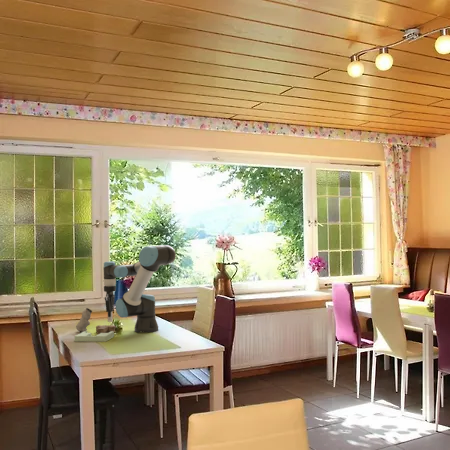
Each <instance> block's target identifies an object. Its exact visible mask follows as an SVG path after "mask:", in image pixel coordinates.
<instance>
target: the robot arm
mask: <svg viewBox="0 0 450 450" xmlns="http://www.w3.org/2000/svg"><path fill="white" fill-rule="evenodd" d="M176 257H177V253H176V250H175V249H174V248H173V246H170V245H168V244H165V245H164V244H162V245H147V246H144V247H143V248H142V249H141V250H140V252H139V254H138V261H137V262H135V263H133V264H119V265H118V264H117V265H116V262H115V261H104V262H103V281H102V282H103V292H105V293H106V295H105V297H104V302H105V310H106V313H107V322H108V323H112V322H113V312H114V311H116V313H117V315H118V317H120V318H130V317H136V322H135V325H134V332H136V333H152V332H153V333H154V332H158V331H159V324H158V322H157V319H156V298H155V295H153V294H147V293H146V294H144V292H145V290H146V288H147V286H148V284H149V283H150V281H151V278H152V277H153V274H154V273H155V272H157V271H158V270H159V269H160V266H168V265H170V264H171V265H172V263H174V261H175V260H176ZM126 277H134V279H133V281H132V283H131V284H130V287H129V289H128V291H127V292H125V293H124V294H123V296H122V298H118V299H117V300H116V301H115V298H116V297H115V296H116V295H115V294H114V292H116V291H117V289H116V287H117V286H116V285H117V284H116V283H117V282H116V278H119V279H121V278H126ZM114 307H115V310H114Z"/></svg>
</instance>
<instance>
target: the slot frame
mask: <svg viewBox="0 0 450 450" xmlns="http://www.w3.org/2000/svg"><path fill="white" fill-rule="evenodd" d="M113 338H115V333H114V331H111V332H109V333H100V334H98V333H97V335H92V332H88V331H84V332H80V333H78V334H76V335H74V342H107V341H109V340H111V339H113Z"/></svg>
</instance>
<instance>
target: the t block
mask: <svg viewBox="0 0 450 450" xmlns="http://www.w3.org/2000/svg"><path fill="white" fill-rule="evenodd" d="M95 328H96V329H95V333H96V334H97V335H98V334H100V333H109V332H111V331H114V332H115V328H117V325H116V326H115V324H114V325H111V324H110V325H109V324H108V325H107V324H106V325H101V324H99V325H96V327H95ZM115 333H116V332H115Z"/></svg>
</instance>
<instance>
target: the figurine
mask: <svg viewBox="0 0 450 450" xmlns="http://www.w3.org/2000/svg"><path fill="white" fill-rule="evenodd" d="M92 312H93V310H92V309H90V308H88V307H86V308H85V309H84V310H83V311H82V312H81V318H80V319H79V321H78V323H76V326H75V329H76V331H78V332H80V333H82V332H84V331H87V330H88V329H87V327H88V326H90V324H91V323H90V322H91V321H90V319H91V318H92V317H91V315H92ZM87 332H88V331H87Z"/></svg>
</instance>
